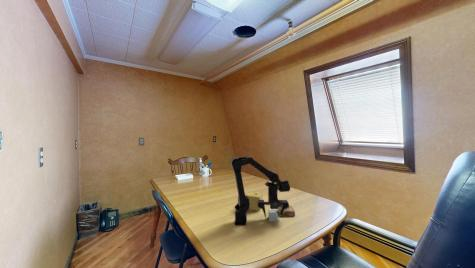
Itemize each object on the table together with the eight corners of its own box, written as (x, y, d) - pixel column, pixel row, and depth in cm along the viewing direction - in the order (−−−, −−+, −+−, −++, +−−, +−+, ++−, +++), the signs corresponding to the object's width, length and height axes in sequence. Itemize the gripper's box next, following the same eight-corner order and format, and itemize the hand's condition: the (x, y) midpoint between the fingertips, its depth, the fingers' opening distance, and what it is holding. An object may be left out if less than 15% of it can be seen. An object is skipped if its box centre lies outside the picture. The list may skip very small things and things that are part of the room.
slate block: (269, 221, 117) (269, 213, 117) (268, 217, 122) (268, 209, 122) (277, 221, 117) (277, 213, 116) (276, 217, 122) (276, 209, 121)
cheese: (249, 203, 144) (249, 190, 143) (263, 205, 140) (263, 192, 140) (245, 209, 134) (244, 195, 133) (260, 211, 130) (260, 197, 130)
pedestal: (280, 215, 123) (280, 211, 123) (278, 209, 132) (278, 205, 132) (294, 216, 123) (294, 211, 123) (291, 210, 132) (291, 205, 132)
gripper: (258, 197, 111) (258, 223, 112) (291, 197, 110) (291, 224, 111) (257, 190, 122) (257, 214, 123) (287, 190, 121) (287, 215, 122)
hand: (272, 217), depth 119 cm, fingers open, 9 cm apart
